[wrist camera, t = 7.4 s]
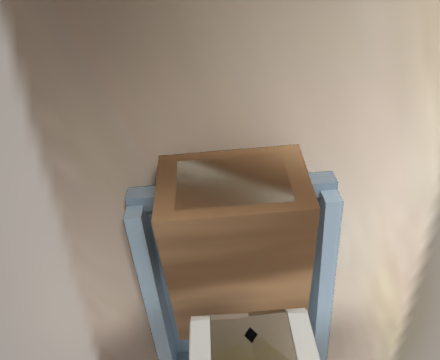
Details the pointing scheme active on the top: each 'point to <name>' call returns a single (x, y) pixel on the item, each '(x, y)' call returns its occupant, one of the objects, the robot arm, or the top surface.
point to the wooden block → (235, 231)
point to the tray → (157, 288)
